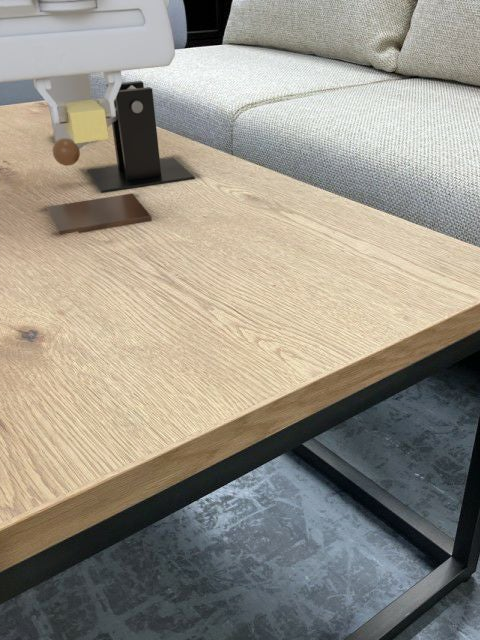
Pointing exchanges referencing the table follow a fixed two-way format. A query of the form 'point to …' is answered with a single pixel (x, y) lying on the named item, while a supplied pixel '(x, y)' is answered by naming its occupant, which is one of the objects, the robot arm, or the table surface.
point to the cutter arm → (73, 146)
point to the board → (98, 214)
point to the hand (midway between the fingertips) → (84, 120)
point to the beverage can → (68, 96)
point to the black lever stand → (136, 146)
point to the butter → (86, 121)
